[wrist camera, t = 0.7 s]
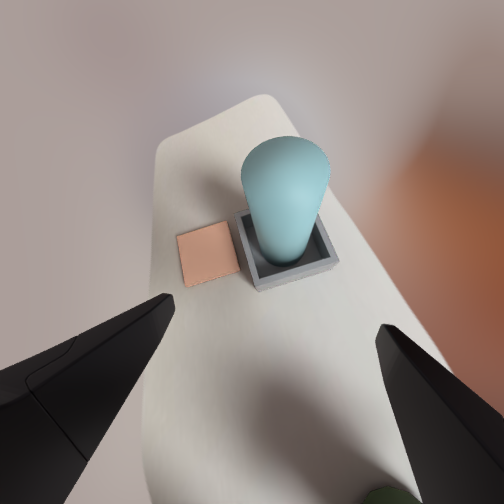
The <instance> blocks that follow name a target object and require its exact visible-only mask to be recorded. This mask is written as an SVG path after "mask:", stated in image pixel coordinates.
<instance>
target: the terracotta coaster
mask: <svg viewBox="0 0 504 504" xmlns="http://www.w3.org/2000/svg"><path fill="white" fill-rule="evenodd" d="M177 240H178V246H179V252H180V258H181V264H182V270H183V275H184V281H185V286H186V287H190V286H193V285H196V284H199V283H203V282H206V281H209V280H212V279H215V278H219V277H222V276H225V275H228V274H231V273H235V272H238V271H241V270H240V267H239V263H238V259H237V256H236V252H235V248H234V245H233V241H232V237H231V234H230V230H229V226H228V223H227V221H223V222H220V223H217V224H214V225H211V226H208V227H205V228H202V229H199V230H195V231H192V232H189V233H186V234H183V235H180V236H177Z"/></svg>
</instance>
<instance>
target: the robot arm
mask: <svg viewBox="0 0 504 504" xmlns="http://www.w3.org/2000/svg"><path fill="white" fill-rule="evenodd" d="M174 312H175V304H174V299H173V296H172V294H167V293H162V294H160V295H158V296H156V297H154V298H152V299H150V300H148V301H146V302H144V303H142V304H140V305H138V306H136V307H134V308H132V309H130V310H128V311H126V312H124V313H122V314H120V315H118V316H115V317H114V318H111V319H110V320H107V321H106V322H104V323H101V324H99V325H97V326H95V327H93V328H91V329H89V330H87V331H85V332H83V333H81V334H79V335H78V336H75V337H73V338H71V339H69V340H67V341H65V342H63V343H60V344H58V345H56V346H54V347H52V348H50V349H48V350H46V351H43V352H41V353H39V354H37V355H35V356H32V357H30V358H28V359H26V360H23V361H21V362H19V363H16V364H14V365H12V366H9V367H7V368H5V369H3V370H0V504H64V502H65V500H66V498H67V497H68V495H69V494H70V492H71V490H72V489H73V487H74V485H75V484H76V482H77V480H78V479H79V477H80V475H81V474H82V472H83V470H84V469H85V467H86V465H87V463H88V461H89V460H90V458H91V457H92V455H93V453H94V452H95V450H96V448H97V447H98V445H99V443H100V442H101V440H102V438H103V437H104V435H105V433H106V432H107V430H108V429H109V427H110V425H111V423H112V422H113V420H114V419H115V417H116V415H117V414H118V412H119V410H120V409H121V407H122V405H123V404H124V402H125V400H126V399H127V397H128V395H129V393H130V392H131V390H132V389H133V387H134V385H135V384H136V382H137V380H138V378H139V377H140V375H141V374H142V372H143V370H144V369H145V367H146V365H147V364H148V362H149V360H150V359H151V357H152V355H153V354H154V352H155V350H156V349H157V347H158V345H159V343H160V342H161V340H162V338H163V336H164V334H165V331H166V329H167V327H168V325H169V323H170V321H171V319H172V317H173V315H174ZM375 343H376V348H377V353H378V358H379V362H380V367H381V372H382V377H383V381H384V385H385V388H386V391H387V394H388V398H389V401H390V404H391V407H392V410H393V413H394V416H395V419H396V422H397V425H398V428H399V431H400V434H401V437H402V440H403V444H404V447H405V450H406V453H407V456H408V459H409V462H410V465H411V468H412V471H413V474H414V477H415V480H416V483H417V486H418V490H419V493H420V496H421V499H422V502H423V504H504V418H503V416H502V415H501V414H500V413H498V412H497V411H496V410H495V409H494V408H492V407H491V406H490V405H489V404H488V403H486V402H485V401H484V400H483V399H482V398H481V397H479V396H478V395H477V394H476V393H475V392H473V391H472V390H471V389H470V388H469V387H467V386H466V385H465V384H464V383H463V382H461V381H460V380H459V379H458V378H457V377H455V376H454V375H453V374H452V373H451V372H450V371H448V370H447V369H446V368H445V367H444V366H442V365H441V364H440V363H439V362H438V361H436V360H435V359H434V358H433V357H432V356H430V355H429V354H428V353H427V352H426V351H424V350H423V349H422V348H421V347H420V346H418V345H417V344H416V343H415V342H414V341H412V340H411V339H410V338H409V337H408V336H406V335H405V334H404V333H403V332H402V331H400V330H399V329H398V328H397V327H396V326H394V325H389V324H382V325H381V326H380V329H379V331H378V334H377V336H376V340H375Z"/></svg>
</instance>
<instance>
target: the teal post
mask: <svg viewBox="0 0 504 504" xmlns="http://www.w3.org/2000/svg"><path fill="white" fill-rule="evenodd" d="M329 178H330V164H329V161H328V158H327V156H326V155H325V153H324V152H323V151H322V150H321V148H319V147H318V146H317V145H316V144H314V143H313V142H311V141H309V140H306V139H303V138H300V137H293V136H283V137H277V138H273V139H270V140H267V141H265V142H263V143H261V144H260V145H258V146H257V147H255V148H254V149H253V150H252V151H251V152H250V153H249V154H248V156H247V157H246V159H245V161H244V163H243V165H242V169H241V181H242V185H243V189H244V192H245V196H246V199H247V203H248V206H249V210H250V213H251V217H252V220H253V224H254V228H255V231H256V235H257V238H258V242H259V245H260V249H261V252H262V255H263V257H264V258H265V259H266V261H267V262H269V263H270V264H272V265H274V266H277V267H289V266H292V265H294V264H296V263H297V262H298V261H299V260H300V259H301V258H302V256H303V254H304V252H305V249H306V246H307V243H308V240H309V237H310V234H311V231H312V228H313V225H314V223H315V220H316V217H317V214H318V211H319V208H320V205H321V202H322V199H323V196H324V193H325V190H326V187H327V184H328V181H329Z"/></svg>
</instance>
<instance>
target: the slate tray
mask: <svg viewBox="0 0 504 504" xmlns="http://www.w3.org/2000/svg"><path fill="white" fill-rule="evenodd" d="M234 216H235V220H236V223H237V227H238V230H239V233H240V237H241V240H242V244H243V247H244V251H245V254H246V258H247V261H248V265H249V268H250V272H251V275H252V278H253V282H254V285H255V288H256V289H257V290H258V292H260V291H263V290H266V289H270V288H273V287H276V286H279V285H283V284H286V283H289V282H292V281H296V280H299V279H302V278H305V277H309V276H312V275H315V274H318V273H321V272H325V271H328V270H331V269H332V268H333V267H334V266H335V265H336V264H337V263H338V262H339V258H338V256H337V254H336V252H335V250H334V247H333V245H332V243H331V241H330V239H329V236H328V234H327V232H326V230H325V227H324V225H323V223H322V221H321V219H320V216H319V214H317V217H316V220H315V223H314V225H313V228H312V231H311V234H310V237H309V240H308V243H307V246H306V249H305V252H304V254H303V256H302V258H301V259H300V260H299V261H298V262H297V263H296V264H294V265H292V266H289V267H277V266H274V265H272V264H270V263H269V262H267V261H266V259H265V258H264V257H263V255H262V252H261V249H260V245H259V242H258V238H257V235H256V231H255V228H254V224H253V220H252V217H251V213H250V210H249V209H247V210H244V211H240V212H237V213H234Z"/></svg>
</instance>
